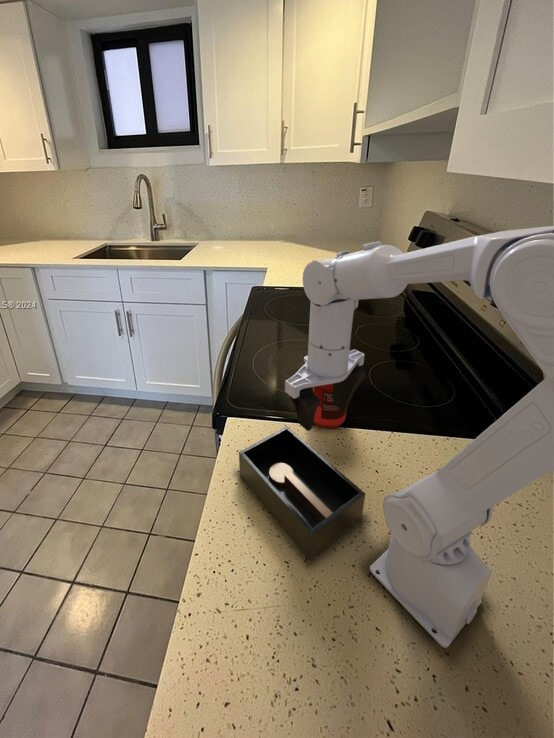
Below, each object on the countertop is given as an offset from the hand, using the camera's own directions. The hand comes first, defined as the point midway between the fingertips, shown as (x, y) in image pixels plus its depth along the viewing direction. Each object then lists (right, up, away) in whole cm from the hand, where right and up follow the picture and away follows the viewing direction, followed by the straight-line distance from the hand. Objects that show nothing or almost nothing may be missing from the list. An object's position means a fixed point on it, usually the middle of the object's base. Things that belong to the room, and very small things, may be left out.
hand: (323, 416), depth 55 cm
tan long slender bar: (-4, -12, -1) cm, 12 cm away
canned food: (+5, -5, +15) cm, 17 cm away
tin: (-4, -12, -1) cm, 13 cm away
